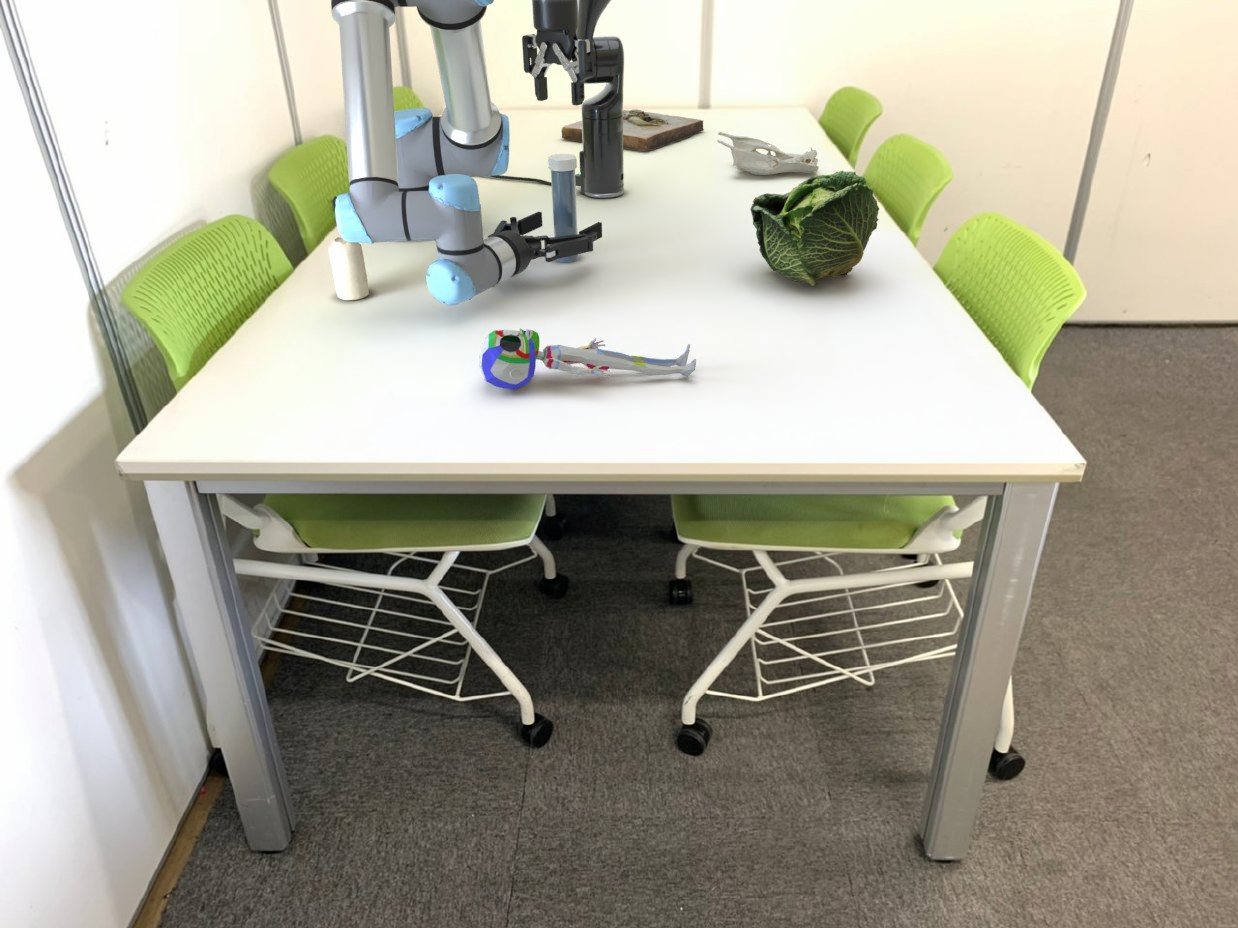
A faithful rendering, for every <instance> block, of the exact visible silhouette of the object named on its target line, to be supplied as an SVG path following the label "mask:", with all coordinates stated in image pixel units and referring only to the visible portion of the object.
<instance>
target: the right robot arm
mask: <svg viewBox="0 0 1238 928" xmlns="http://www.w3.org/2000/svg"><path fill="white" fill-rule="evenodd" d="M611 1H612V0H531V5H532V22H533V28H534V29H535V30H536V34H535V33H531V34H525V35H522V38H521V43H522V44H521V45H522V59H523V60H522V61H523V71H524V73H526V74H530V75H531V76H532V77H533V81H534V84H533V85H534V95H535V97H536V100H537V101H539V102H543V101H547V100H548V98H549V93H548V77H547V76H546V75H547V72H548V70H549V69H550V67H551V66H552V65H553V64H555V65H557V66H562V68H563V69H564V71H566V72H567V73H568V75H569V78H570V80H571V81H572V82H570V89H571V90H570V91H571V105H572V106H576V107H577V106H581V109H580V112H581V121H582V140H583V142H582V150H580V151H579V153H578V156H579V172H578V173H575V183H576V187H580V195H585V196H587V197H589V198H595V199H612V198H617V197H620V196H622V195H624V193H625V187H624V186H625V183H624V181H625V174H624V173H625V172H624V148H623V110H624V82H625V81H624V78H625V49H624V45H623V42H622V40H621V39H620V37H618V36H615V35H607V36H605V35H603V36H594V34H595V30H596V27H597V25H598V22H599V20H600V18H601V16H602V14H603V13H604V12H605V9H606V8H607V7H608V5H610V3H611ZM595 84H605V85H604V87H603V89H602V90H601V91H600V92H598V93H597V94H596V95H594V96H592V97H590V98H588V99H586V100H585V97H586V96H585V95H586V94H585V85H595ZM489 178H492V179H500V180H501V179H502V180H511V181H522V182H532V183H539V184H543V185H546V186H551V187H552V184H551V181H547V180H544V179H540V178H533V177H522V176H511V175H503V174H502V175H495V176H490V177H489Z"/></svg>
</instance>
